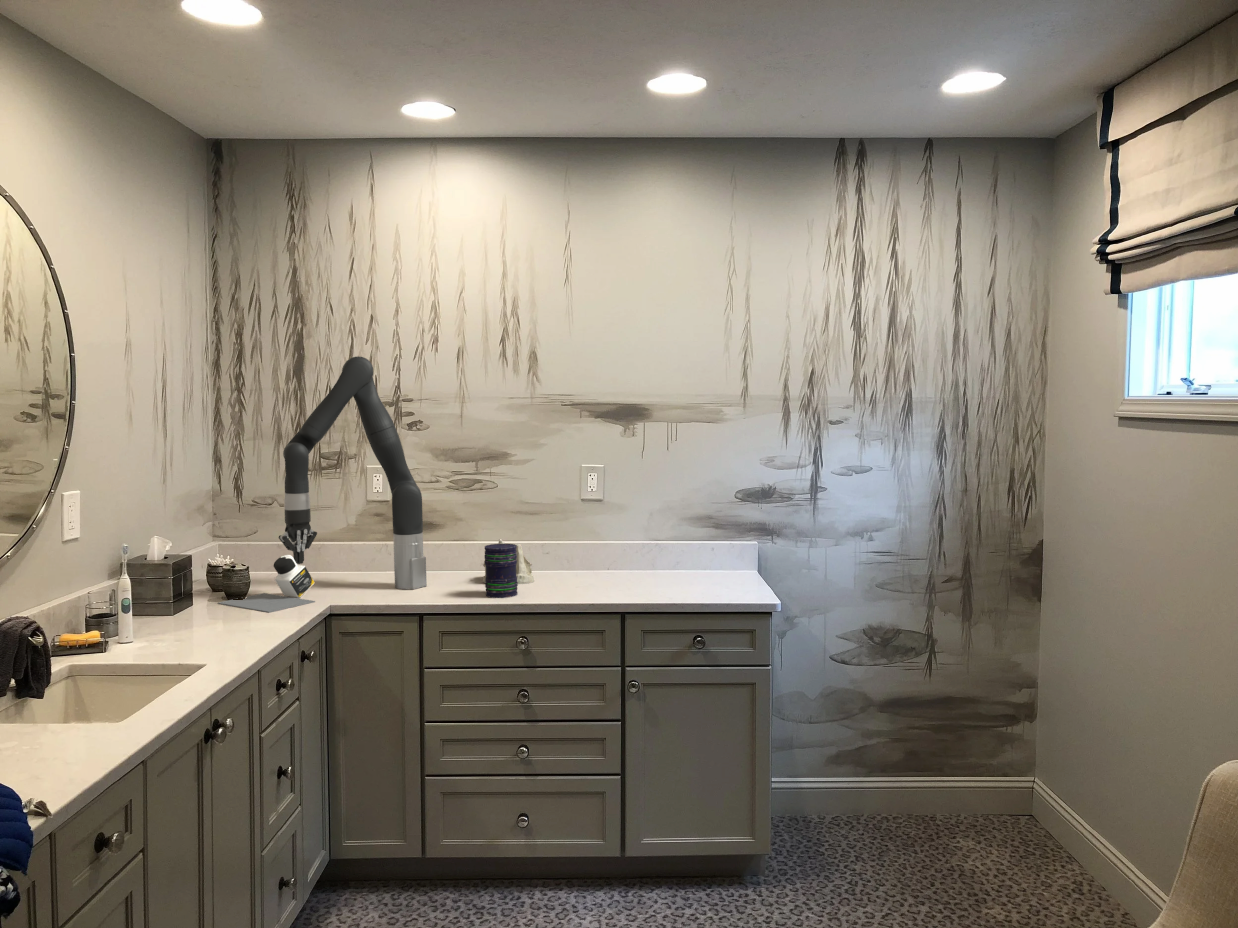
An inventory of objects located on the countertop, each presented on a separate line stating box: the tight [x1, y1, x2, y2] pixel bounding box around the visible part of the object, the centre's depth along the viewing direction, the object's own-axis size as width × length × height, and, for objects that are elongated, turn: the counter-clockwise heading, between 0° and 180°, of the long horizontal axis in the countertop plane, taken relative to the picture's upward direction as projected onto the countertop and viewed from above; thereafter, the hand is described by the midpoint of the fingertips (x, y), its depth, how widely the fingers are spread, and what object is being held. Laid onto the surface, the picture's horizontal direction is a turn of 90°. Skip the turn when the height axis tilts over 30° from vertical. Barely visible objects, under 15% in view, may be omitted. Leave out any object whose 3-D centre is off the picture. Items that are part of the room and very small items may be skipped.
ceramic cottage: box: [482, 538, 535, 585], centre depth 309 cm, size 16×16×15 cm
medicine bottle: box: [273, 554, 315, 599], centre depth 287 cm, size 7×7×12 cm
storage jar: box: [484, 543, 519, 599], centre depth 287 cm, size 10×10×15 cm
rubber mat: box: [217, 592, 316, 614], centre depth 281 cm, size 24×16×1 cm, turn 57°
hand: (299, 563), depth 290 cm, fingers closed
